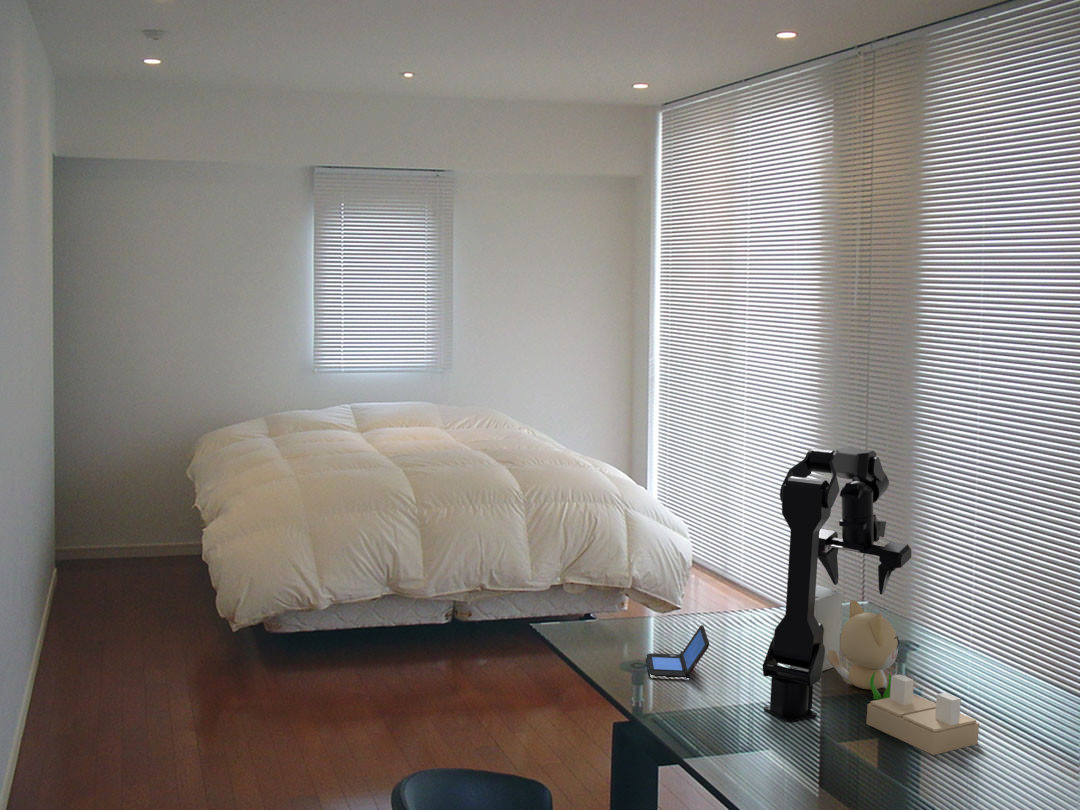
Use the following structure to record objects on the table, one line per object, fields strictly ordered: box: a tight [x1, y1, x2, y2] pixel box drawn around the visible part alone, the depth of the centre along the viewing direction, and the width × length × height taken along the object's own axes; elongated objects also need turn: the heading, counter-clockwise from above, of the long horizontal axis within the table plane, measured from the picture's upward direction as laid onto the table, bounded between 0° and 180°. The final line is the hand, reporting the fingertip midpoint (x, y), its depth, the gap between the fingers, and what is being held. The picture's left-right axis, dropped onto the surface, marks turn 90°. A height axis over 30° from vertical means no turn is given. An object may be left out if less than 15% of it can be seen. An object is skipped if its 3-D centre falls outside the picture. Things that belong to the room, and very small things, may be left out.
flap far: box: [869, 674, 936, 717], centre depth 184 cm, size 9×6×4 cm
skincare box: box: [790, 585, 843, 672], centre depth 213 cm, size 8×6×15 cm
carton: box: [866, 703, 980, 756], centre depth 181 cm, size 10×14×4 cm
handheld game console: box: [646, 624, 710, 679], centre depth 210 cm, size 12×11×7 cm
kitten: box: [827, 599, 900, 700], centre depth 202 cm, size 15×10×15 cm
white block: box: [903, 692, 977, 732], centre depth 178 cm, size 9×6×4 cm
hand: (858, 588), depth 215 cm, fingers open, 9 cm apart
